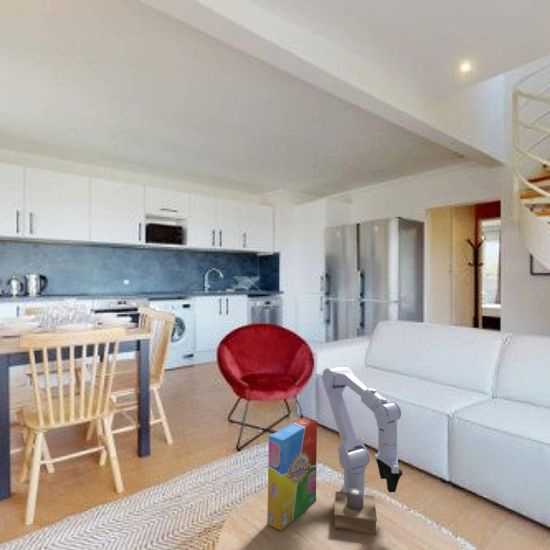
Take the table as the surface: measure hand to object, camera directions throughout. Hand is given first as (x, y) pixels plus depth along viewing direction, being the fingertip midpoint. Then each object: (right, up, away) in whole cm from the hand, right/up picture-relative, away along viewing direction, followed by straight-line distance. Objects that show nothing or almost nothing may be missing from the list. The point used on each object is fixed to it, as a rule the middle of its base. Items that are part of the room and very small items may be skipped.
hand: (387, 484), depth 118 cm
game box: (-30, -10, +3) cm, 32 cm away
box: (-11, -10, -1) cm, 15 cm away
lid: (-11, -6, -1) cm, 12 cm away
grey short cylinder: (-11, -6, -1) cm, 12 cm away
